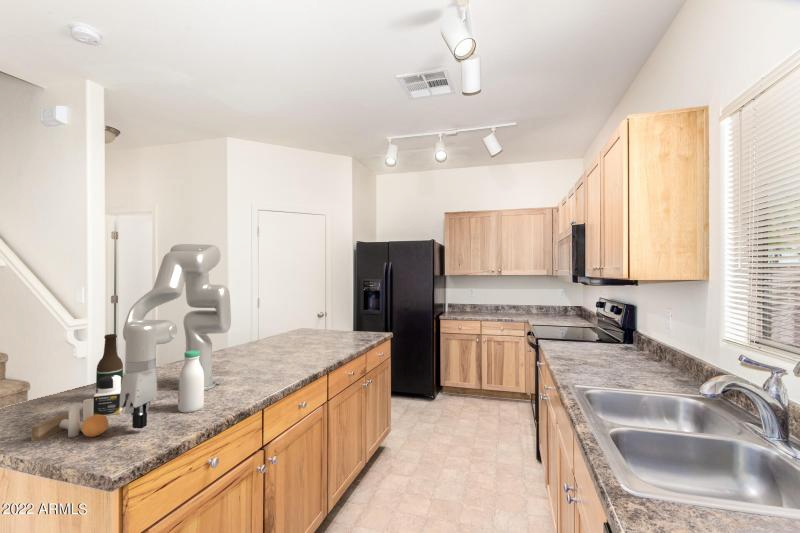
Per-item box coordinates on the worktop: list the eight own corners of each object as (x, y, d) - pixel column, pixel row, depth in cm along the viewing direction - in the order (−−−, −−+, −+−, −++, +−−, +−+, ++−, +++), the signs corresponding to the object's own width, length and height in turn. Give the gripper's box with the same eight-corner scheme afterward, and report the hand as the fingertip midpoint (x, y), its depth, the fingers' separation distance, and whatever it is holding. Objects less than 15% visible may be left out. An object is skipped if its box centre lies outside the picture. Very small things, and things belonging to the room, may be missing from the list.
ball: (91, 418, 110) (114, 421, 112) (79, 438, 106) (102, 441, 107) (87, 409, 107) (111, 412, 108) (74, 429, 102) (98, 433, 103)
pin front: (96, 423, 111) (68, 419, 111) (91, 422, 109) (62, 418, 109) (91, 432, 110) (63, 428, 110) (86, 431, 108) (57, 427, 108)
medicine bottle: (92, 417, 120) (93, 380, 120) (98, 410, 126) (99, 375, 126) (119, 414, 123) (120, 378, 123) (124, 406, 129) (124, 372, 130)
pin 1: (79, 432, 109) (80, 404, 109) (77, 436, 107) (78, 406, 107) (69, 434, 107) (70, 405, 107) (67, 437, 105) (67, 408, 105)
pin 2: (93, 425, 114) (94, 398, 114) (92, 428, 112) (92, 400, 112) (83, 427, 112) (84, 399, 112) (81, 430, 110) (82, 401, 110)
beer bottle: (107, 403, 132) (109, 336, 132) (90, 402, 133) (91, 335, 134) (127, 396, 140) (129, 333, 140) (110, 395, 141) (112, 332, 141)
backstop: (75, 423, 115) (76, 410, 115) (38, 440, 103) (39, 426, 103) (69, 423, 115) (69, 410, 115) (31, 440, 103) (31, 426, 103)
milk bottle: (208, 406, 131) (209, 350, 131) (189, 414, 123) (190, 354, 123) (192, 403, 133) (193, 348, 133) (172, 411, 126) (173, 352, 126)
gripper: (145, 359, 117) (144, 417, 117) (108, 372, 102) (107, 438, 102) (168, 359, 117) (167, 417, 117) (135, 372, 102) (134, 438, 102)
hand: (139, 427), depth 110 cm, fingers closed
